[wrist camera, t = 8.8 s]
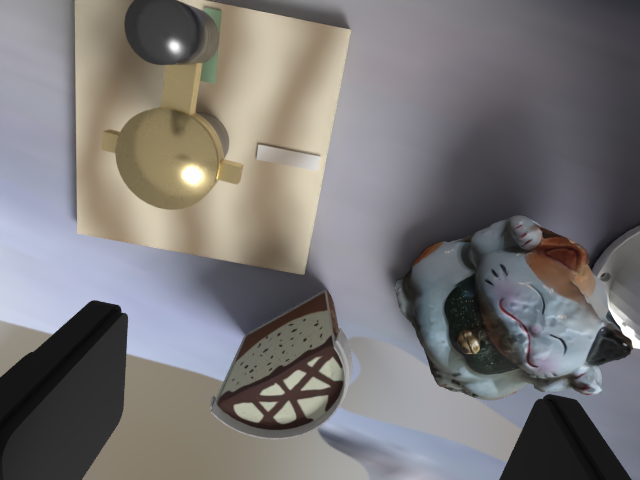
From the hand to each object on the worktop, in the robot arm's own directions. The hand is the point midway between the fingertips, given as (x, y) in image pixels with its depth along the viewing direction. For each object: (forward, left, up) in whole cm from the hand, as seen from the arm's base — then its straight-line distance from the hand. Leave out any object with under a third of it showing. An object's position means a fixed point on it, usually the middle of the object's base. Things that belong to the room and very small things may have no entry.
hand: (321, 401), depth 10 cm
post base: (+11, +1, -29) cm, 31 cm away
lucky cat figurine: (-15, +9, -30) cm, 34 cm away
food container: (0, +18, -29) cm, 34 cm away
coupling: (+10, -2, -22) cm, 24 cm away
